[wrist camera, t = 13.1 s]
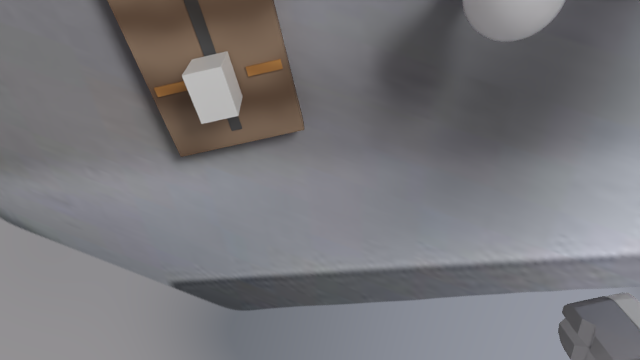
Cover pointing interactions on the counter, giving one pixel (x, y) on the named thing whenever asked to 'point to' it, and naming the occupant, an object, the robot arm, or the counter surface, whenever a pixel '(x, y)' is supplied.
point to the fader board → (203, 40)
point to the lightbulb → (510, 17)
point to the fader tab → (213, 87)
